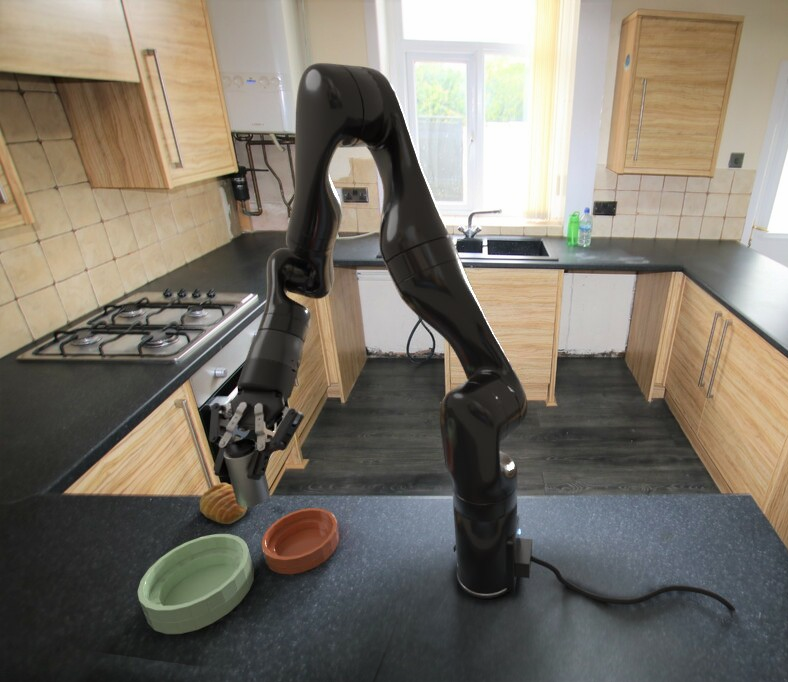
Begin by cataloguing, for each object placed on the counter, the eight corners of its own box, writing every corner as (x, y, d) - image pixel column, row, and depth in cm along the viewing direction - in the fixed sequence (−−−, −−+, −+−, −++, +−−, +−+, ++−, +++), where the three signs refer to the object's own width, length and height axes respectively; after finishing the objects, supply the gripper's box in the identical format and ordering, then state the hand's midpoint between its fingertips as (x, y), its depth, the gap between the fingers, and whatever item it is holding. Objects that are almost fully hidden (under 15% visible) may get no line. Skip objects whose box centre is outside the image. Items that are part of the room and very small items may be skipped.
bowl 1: (273, 562, 75) (267, 537, 73) (212, 643, 63) (203, 616, 61) (197, 553, 77) (189, 529, 75) (122, 631, 64) (111, 604, 62)
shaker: (275, 488, 72) (264, 438, 69) (257, 508, 68) (244, 456, 64) (249, 486, 72) (236, 436, 69) (229, 505, 68) (215, 453, 65)
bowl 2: (351, 527, 82) (348, 511, 81) (318, 580, 72) (314, 563, 70) (291, 521, 83) (287, 505, 82) (250, 572, 73) (245, 555, 72)
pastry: (258, 512, 86) (254, 495, 84) (219, 534, 81) (213, 516, 79) (235, 491, 91) (230, 475, 90) (197, 510, 86) (191, 494, 85)
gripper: (214, 353, 71) (171, 469, 64) (303, 358, 69) (268, 478, 62) (245, 370, 77) (209, 477, 71) (326, 375, 76) (297, 485, 69)
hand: (237, 477), depth 66 cm, fingers closed on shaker, 4 cm apart
